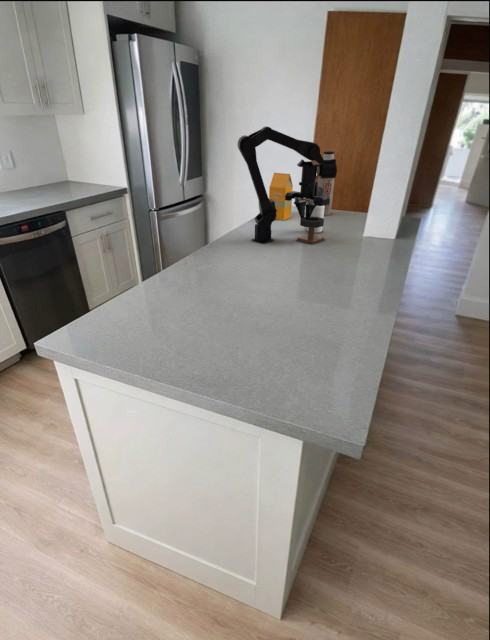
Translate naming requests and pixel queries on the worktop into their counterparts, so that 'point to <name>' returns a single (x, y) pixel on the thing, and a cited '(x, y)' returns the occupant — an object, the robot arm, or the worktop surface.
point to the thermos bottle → (327, 184)
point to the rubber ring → (312, 222)
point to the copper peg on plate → (310, 237)
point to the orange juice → (281, 194)
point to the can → (318, 212)
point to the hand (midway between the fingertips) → (305, 220)
